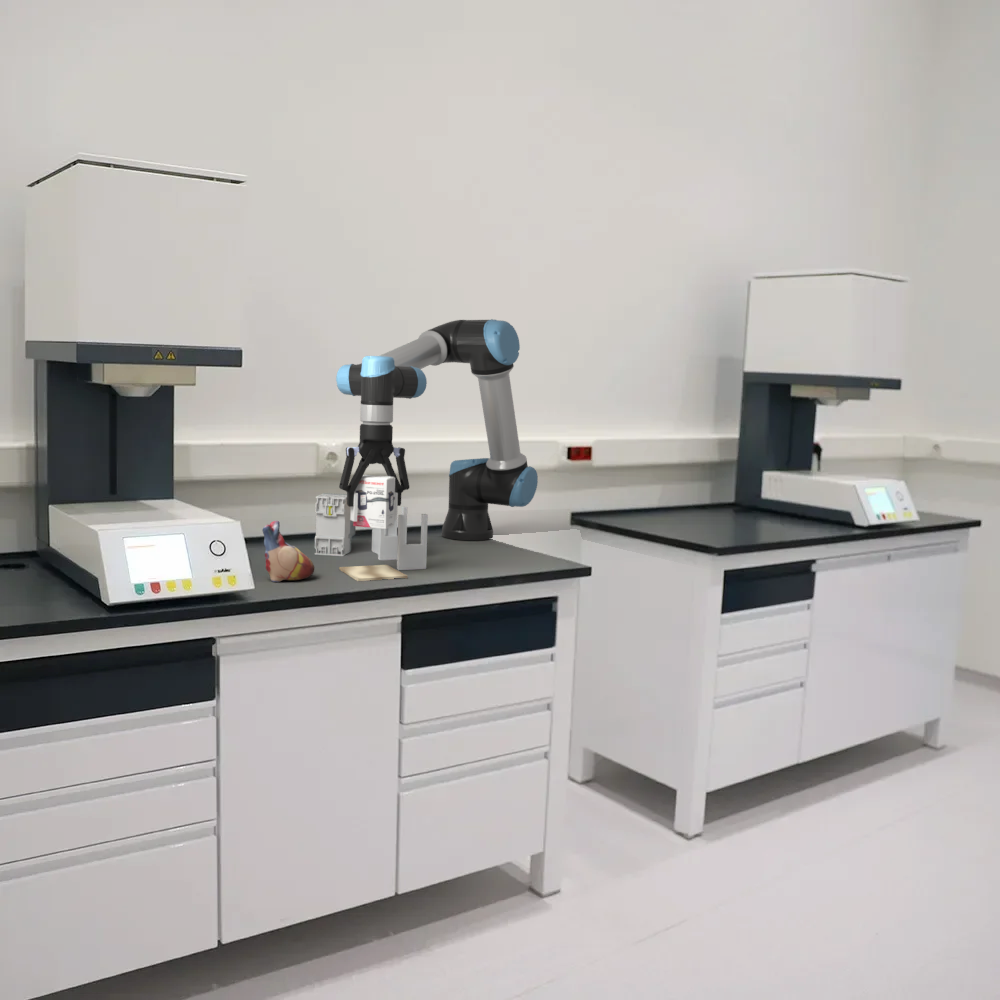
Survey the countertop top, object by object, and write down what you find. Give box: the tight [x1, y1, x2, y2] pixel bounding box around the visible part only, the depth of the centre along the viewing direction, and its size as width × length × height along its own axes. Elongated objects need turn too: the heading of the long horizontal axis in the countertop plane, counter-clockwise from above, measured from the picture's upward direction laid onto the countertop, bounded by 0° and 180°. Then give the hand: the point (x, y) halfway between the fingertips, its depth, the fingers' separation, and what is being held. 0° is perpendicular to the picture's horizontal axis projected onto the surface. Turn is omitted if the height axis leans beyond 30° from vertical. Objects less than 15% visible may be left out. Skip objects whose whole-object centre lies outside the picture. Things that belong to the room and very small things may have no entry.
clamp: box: [371, 506, 429, 571], centre depth 252 cm, size 7×26×13 cm, turn 26°
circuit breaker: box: [314, 492, 357, 557], centre depth 262 cm, size 8×14×15 cm, turn 174°
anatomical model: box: [262, 520, 315, 583], centre depth 223 cm, size 10×9×15 cm
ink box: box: [353, 474, 395, 529], centre depth 232 cm, size 8×5×12 cm, turn 72°
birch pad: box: [338, 564, 408, 582], centre depth 234 cm, size 12×14×1 cm
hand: (373, 520), depth 232 cm, fingers closed on ink box, 9 cm apart
